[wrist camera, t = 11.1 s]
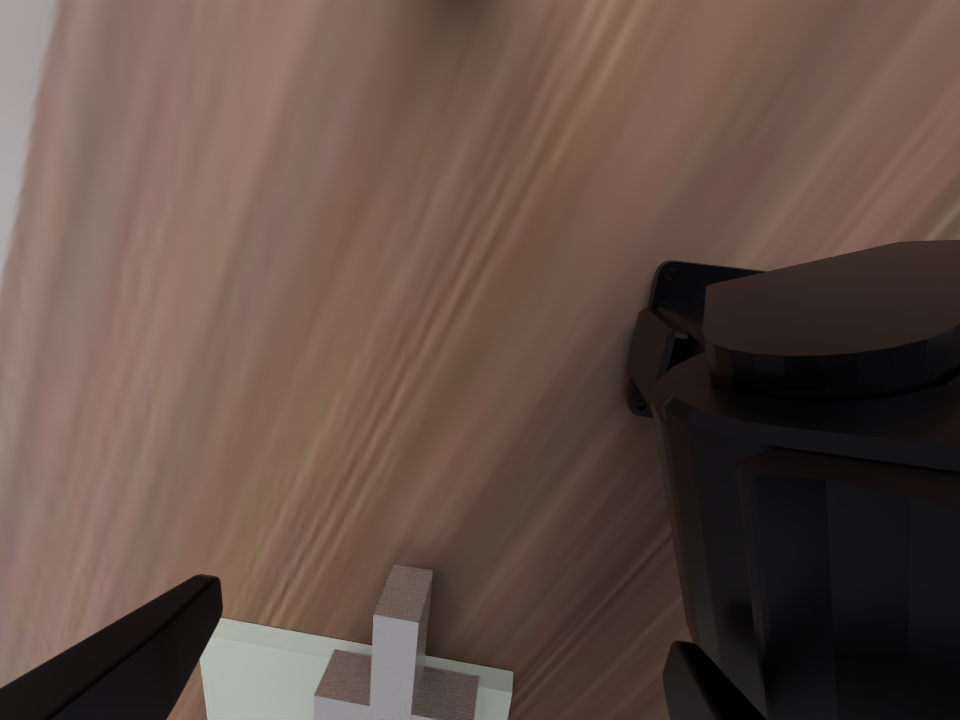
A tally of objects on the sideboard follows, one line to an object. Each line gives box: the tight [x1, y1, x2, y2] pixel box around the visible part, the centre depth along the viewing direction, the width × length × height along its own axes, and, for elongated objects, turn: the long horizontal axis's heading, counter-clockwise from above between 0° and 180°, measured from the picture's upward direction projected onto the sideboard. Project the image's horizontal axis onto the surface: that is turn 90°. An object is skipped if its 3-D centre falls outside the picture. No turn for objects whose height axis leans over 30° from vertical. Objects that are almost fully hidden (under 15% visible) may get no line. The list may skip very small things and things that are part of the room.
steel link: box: [314, 564, 479, 720], centre depth 23 cm, size 14×8×3 cm, turn 174°
